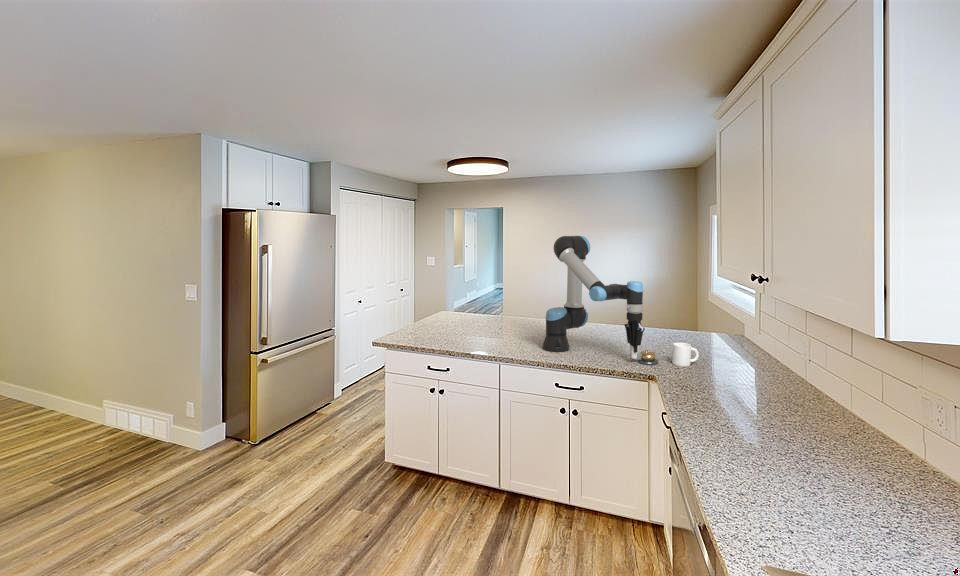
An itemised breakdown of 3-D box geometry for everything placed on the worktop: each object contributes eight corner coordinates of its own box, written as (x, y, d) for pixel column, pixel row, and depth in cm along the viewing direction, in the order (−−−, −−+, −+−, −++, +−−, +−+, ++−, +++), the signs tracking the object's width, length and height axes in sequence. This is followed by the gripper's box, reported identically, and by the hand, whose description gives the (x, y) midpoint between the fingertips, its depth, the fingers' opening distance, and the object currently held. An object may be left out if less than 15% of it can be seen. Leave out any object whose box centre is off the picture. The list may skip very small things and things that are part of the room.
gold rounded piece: (652, 357, 216) (653, 350, 216) (656, 361, 209) (657, 353, 209) (628, 357, 218) (628, 349, 217) (631, 361, 211) (632, 353, 210)
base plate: (633, 362, 214) (633, 359, 214) (642, 358, 220) (643, 355, 220) (652, 366, 206) (652, 363, 206) (661, 362, 213) (661, 359, 213)
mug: (696, 363, 211) (697, 343, 210) (700, 368, 203) (701, 347, 202) (670, 361, 214) (671, 342, 212) (674, 366, 206) (675, 346, 204)
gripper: (620, 310, 215) (619, 355, 217) (636, 314, 203) (635, 362, 205) (632, 309, 217) (632, 354, 219) (649, 313, 205) (648, 360, 207)
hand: (633, 358), depth 212 cm, fingers closed
